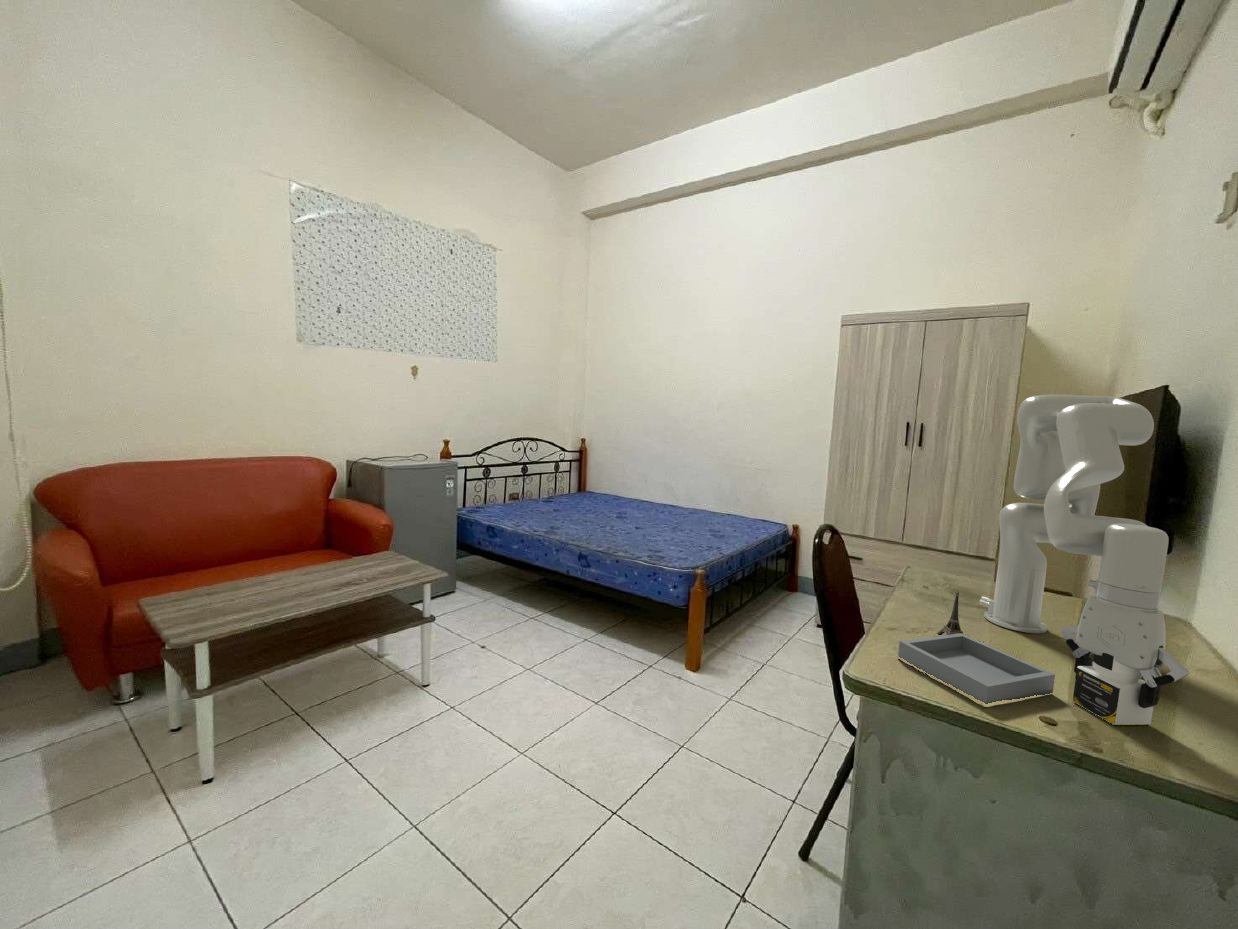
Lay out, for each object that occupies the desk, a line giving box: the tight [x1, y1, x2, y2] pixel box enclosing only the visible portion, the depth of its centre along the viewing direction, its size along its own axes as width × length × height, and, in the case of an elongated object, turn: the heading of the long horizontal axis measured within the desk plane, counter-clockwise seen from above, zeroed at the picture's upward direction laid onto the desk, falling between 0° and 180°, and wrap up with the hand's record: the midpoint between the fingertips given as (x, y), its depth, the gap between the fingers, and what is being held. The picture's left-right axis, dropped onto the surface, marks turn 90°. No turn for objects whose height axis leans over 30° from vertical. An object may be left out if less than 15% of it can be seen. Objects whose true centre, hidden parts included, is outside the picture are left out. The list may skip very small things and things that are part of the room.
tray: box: [897, 633, 1056, 704], centre depth 97 cm, size 18×18×4 cm
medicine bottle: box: [1072, 653, 1154, 725], centre depth 85 cm, size 7×7×12 cm
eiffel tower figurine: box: [936, 590, 985, 643], centre depth 112 cm, size 15×10×13 cm
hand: (1112, 691), depth 85 cm, fingers closed on medicine bottle, 8 cm apart
